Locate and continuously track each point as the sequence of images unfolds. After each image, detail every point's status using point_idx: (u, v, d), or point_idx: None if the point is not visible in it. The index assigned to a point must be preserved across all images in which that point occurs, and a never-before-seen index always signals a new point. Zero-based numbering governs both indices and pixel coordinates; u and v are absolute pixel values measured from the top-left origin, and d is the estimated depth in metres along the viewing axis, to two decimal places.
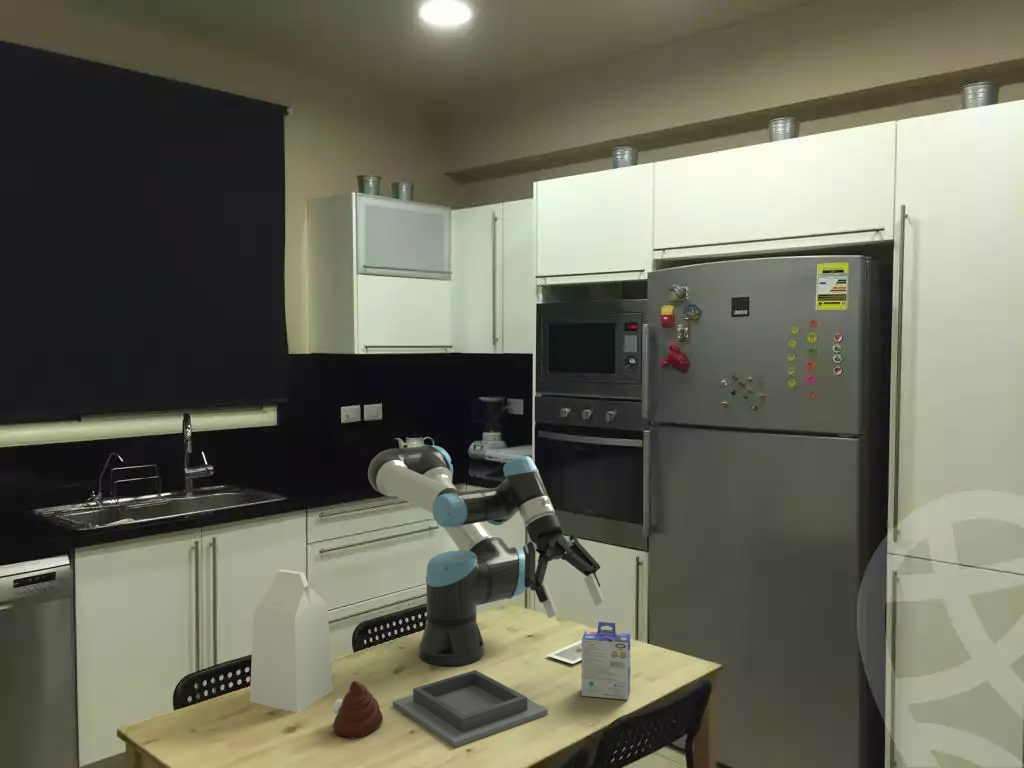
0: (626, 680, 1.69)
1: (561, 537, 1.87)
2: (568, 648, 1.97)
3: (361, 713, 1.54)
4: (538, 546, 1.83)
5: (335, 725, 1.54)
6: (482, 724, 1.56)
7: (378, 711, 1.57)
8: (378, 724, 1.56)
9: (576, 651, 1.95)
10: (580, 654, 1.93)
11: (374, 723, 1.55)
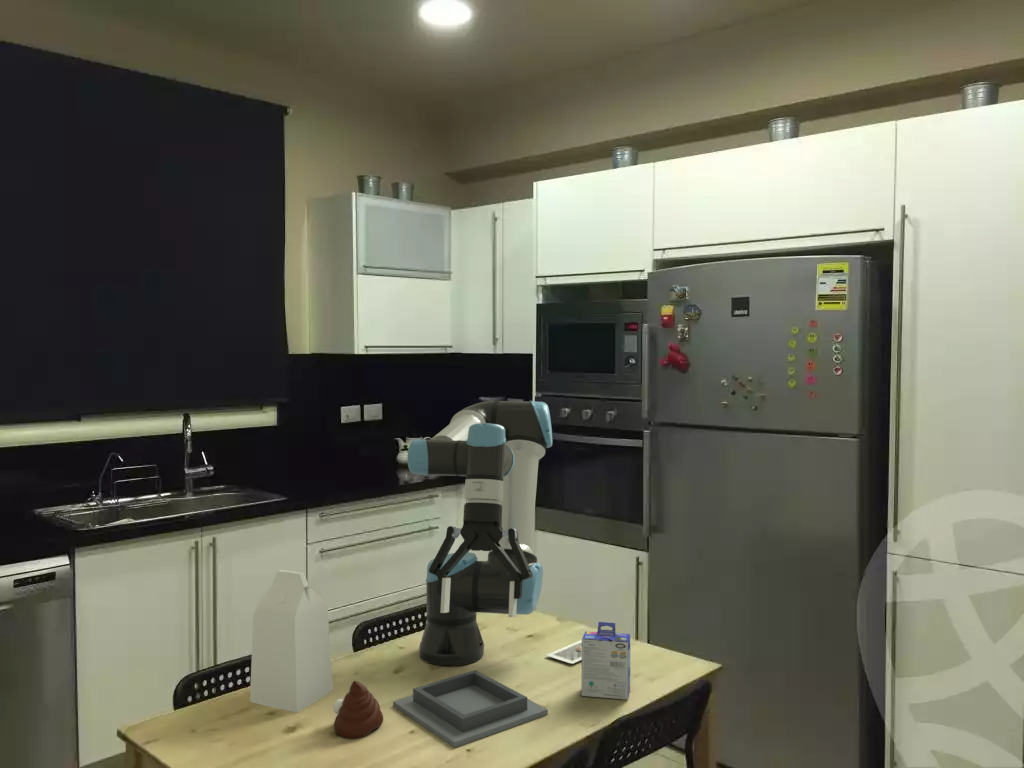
0: (626, 680, 1.69)
1: (494, 529, 1.60)
2: (567, 648, 1.97)
3: (361, 713, 1.54)
4: (460, 533, 1.62)
5: (335, 725, 1.54)
6: (482, 724, 1.56)
7: (378, 711, 1.57)
8: (378, 724, 1.56)
9: (575, 651, 1.95)
10: (579, 654, 1.93)
11: (374, 723, 1.55)
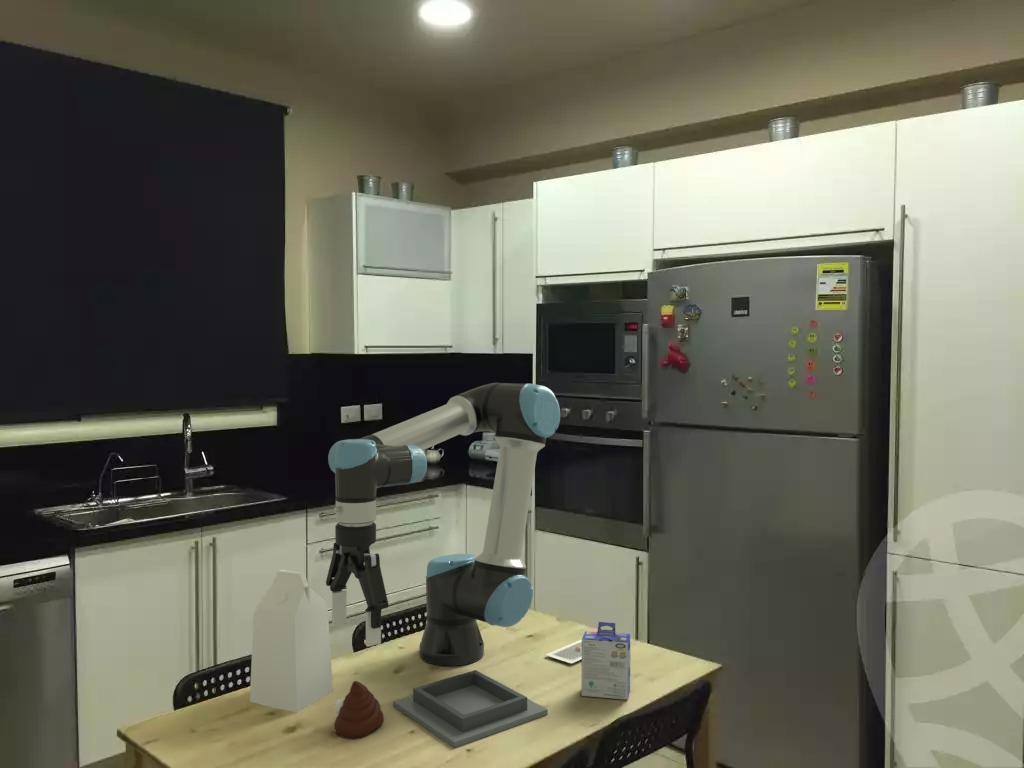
0: (626, 680, 1.69)
1: (357, 553, 1.53)
2: (567, 648, 1.97)
3: (362, 713, 1.54)
4: None
5: (336, 725, 1.54)
6: (482, 724, 1.56)
7: (379, 711, 1.57)
8: (379, 724, 1.56)
9: (575, 651, 1.95)
10: (579, 654, 1.93)
11: (375, 723, 1.55)
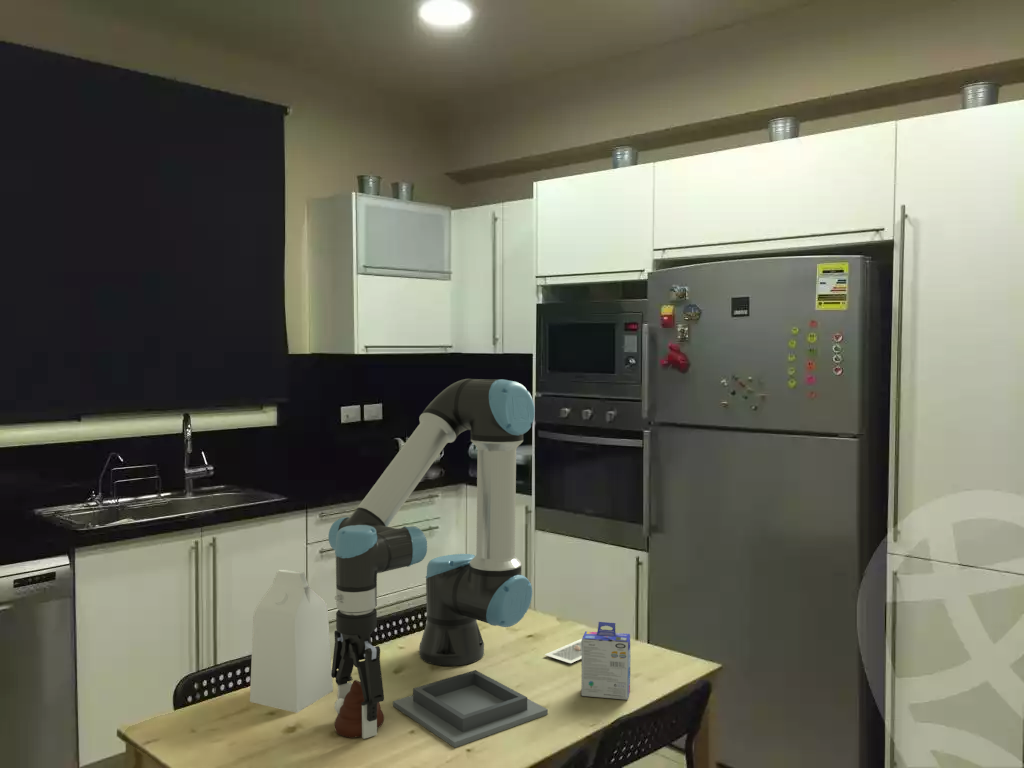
0: (626, 680, 1.69)
1: (358, 641, 1.54)
2: (566, 648, 1.97)
3: None
4: None
5: (336, 724, 1.54)
6: (482, 724, 1.56)
7: (379, 710, 1.57)
8: (379, 723, 1.56)
9: (574, 650, 1.95)
10: (578, 653, 1.93)
11: None
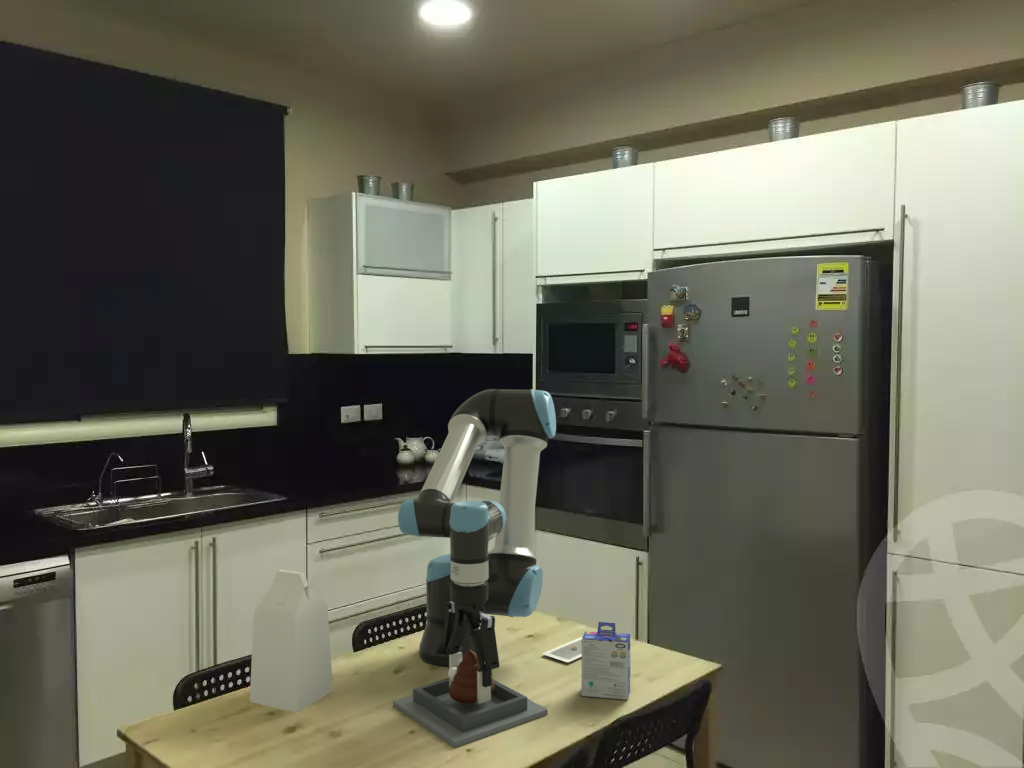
0: (626, 680, 1.69)
1: (473, 611, 1.61)
2: (563, 647, 1.98)
3: None
4: None
5: (452, 691, 1.62)
6: (482, 724, 1.56)
7: None
8: (491, 691, 1.64)
9: (571, 650, 1.96)
10: (575, 653, 1.94)
11: None
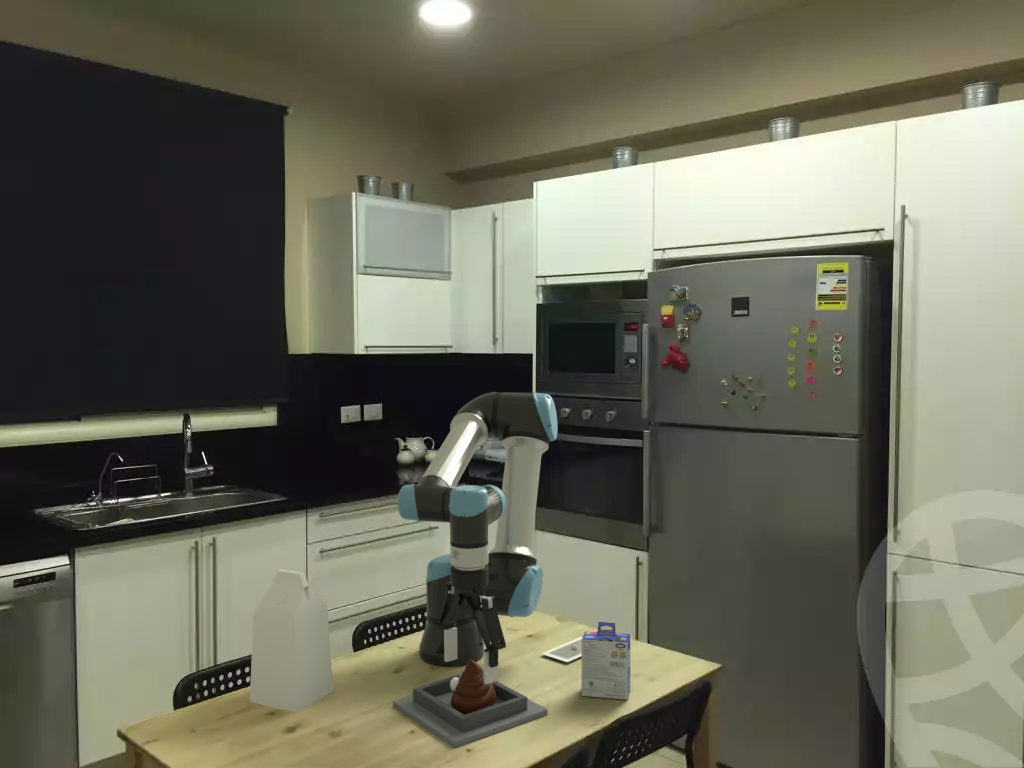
0: (626, 680, 1.69)
1: (473, 595, 1.61)
2: (563, 647, 1.98)
3: (479, 690, 1.61)
4: None
5: (454, 702, 1.62)
6: (482, 724, 1.56)
7: (493, 689, 1.64)
8: (493, 701, 1.64)
9: (571, 649, 1.96)
10: (575, 652, 1.94)
11: (490, 700, 1.62)
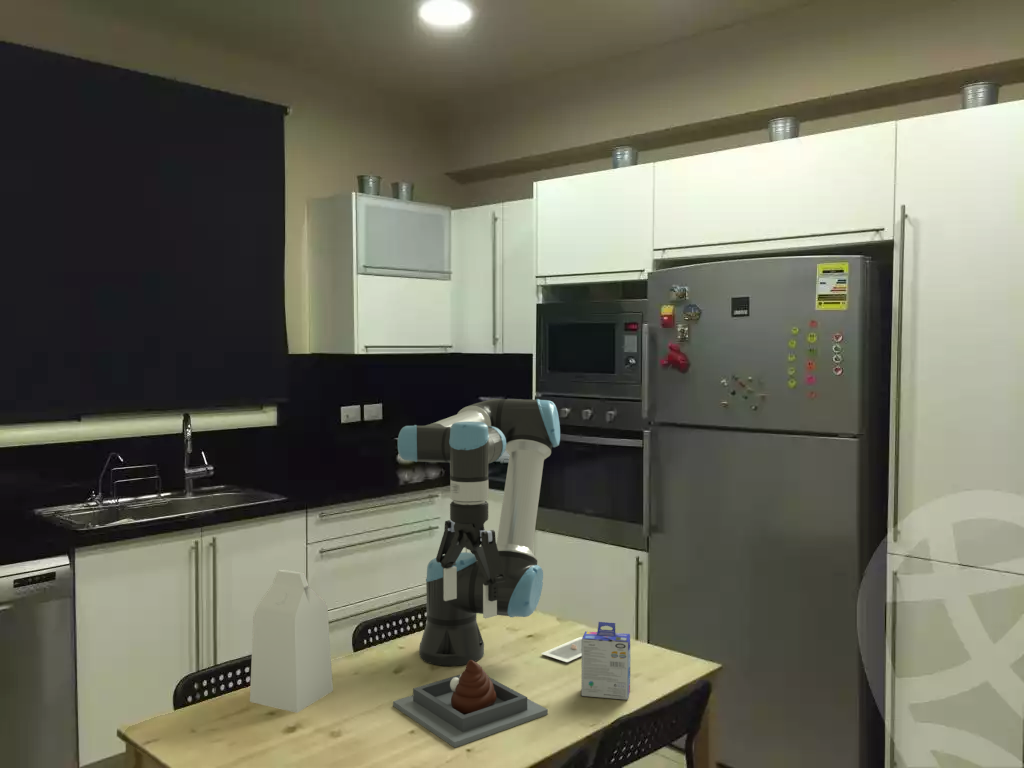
0: (626, 680, 1.69)
1: (473, 530, 1.60)
2: (563, 646, 1.98)
3: (479, 690, 1.61)
4: None
5: (454, 702, 1.62)
6: (482, 724, 1.56)
7: (493, 689, 1.64)
8: (493, 701, 1.64)
9: (571, 649, 1.96)
10: (575, 652, 1.94)
11: (490, 700, 1.62)
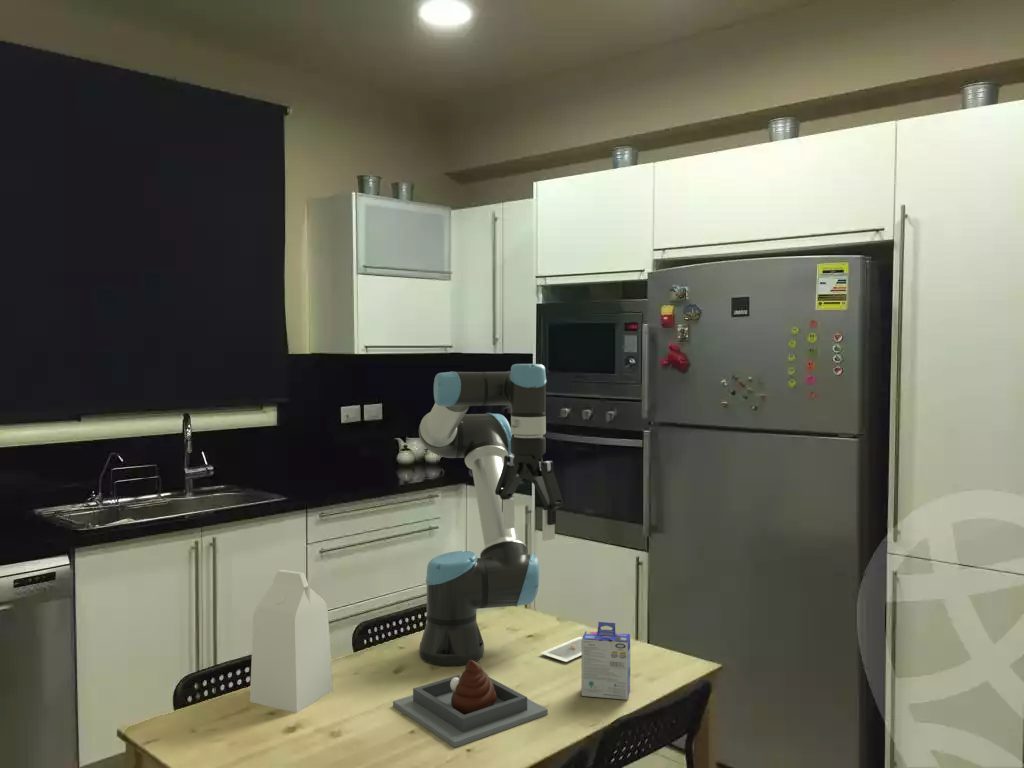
0: (626, 680, 1.69)
1: (532, 461, 1.75)
2: (562, 646, 1.98)
3: (479, 690, 1.61)
4: None
5: (454, 702, 1.62)
6: (482, 724, 1.56)
7: (493, 689, 1.64)
8: (494, 701, 1.64)
9: (570, 649, 1.96)
10: (574, 652, 1.94)
11: (490, 700, 1.62)
